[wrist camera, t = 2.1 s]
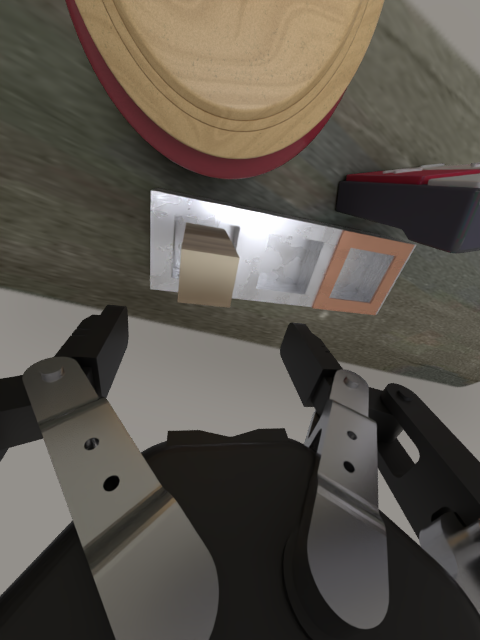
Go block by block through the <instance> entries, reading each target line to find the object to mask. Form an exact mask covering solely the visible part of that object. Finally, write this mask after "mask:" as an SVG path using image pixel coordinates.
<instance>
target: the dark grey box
mask: <svg viewBox="0 0 480 640" xmlns="http://www.w3.org/2000/svg"><path fill="white" fill-rule="evenodd" d="M336 211H337V212H341V213H345V214H348V215H352V216H356V217H359V218H363V219H367V220H370V221H374V222H378V223H381V224H385V225H389V226H393V227H396V228H400V229H402V230H403V231H404V233H405V235H406V236H407V238H408V239H409V240H411V241H414V242H417V243H420V244H423V245H427V246H430V247H433V248H436V249H439V250H442V251H446V252H449V253H464V252H471V251H478V250H480V163H471V164H467V165H444V163H442V164H433V165H423V166H420V167H415V168H405V169H396V170H387V171H377V172H368V173H359V174H350V175H347V178H346V181H341V182H340V183H339V191H338V198H337V206H336Z"/></svg>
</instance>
